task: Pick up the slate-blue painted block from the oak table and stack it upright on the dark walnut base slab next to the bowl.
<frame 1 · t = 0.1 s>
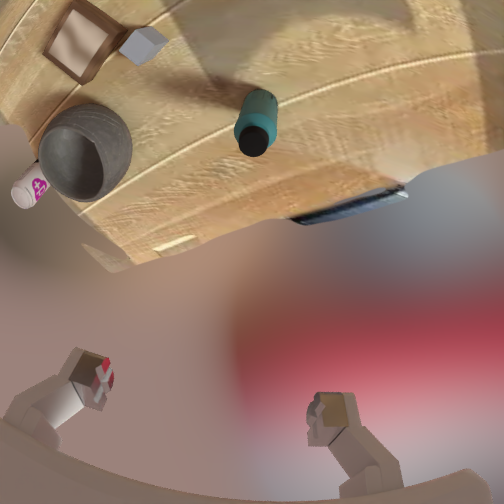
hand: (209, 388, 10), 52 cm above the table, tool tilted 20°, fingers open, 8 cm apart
bowl: (104, 132, 57), on the table
base: (87, 39, 39), on the table
block: (152, 42, 41), on the table
beverage bottle: (261, 101, 50), on the table
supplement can: (52, 163, 63), on the table
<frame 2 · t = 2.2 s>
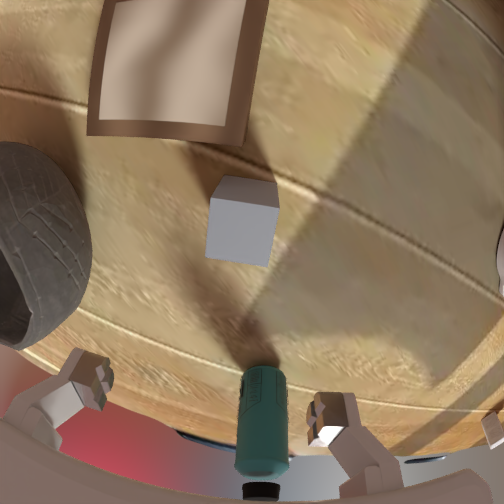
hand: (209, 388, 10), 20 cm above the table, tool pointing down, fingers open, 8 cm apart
bowl: (51, 211, 30), on the table
base: (180, 61, 22), on the table
block: (246, 203, 28), on the table
beverage bottle: (264, 369, 40), on the table
small box: (488, 417, 55), on the table
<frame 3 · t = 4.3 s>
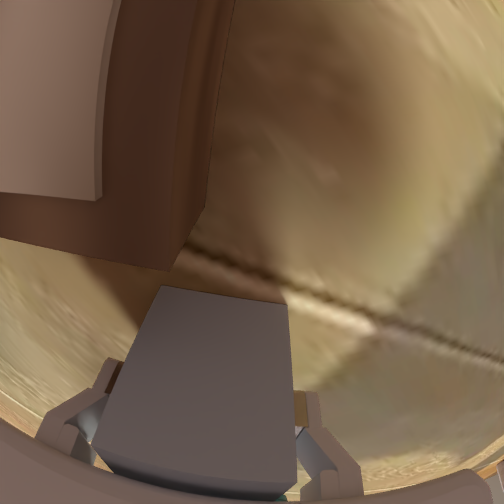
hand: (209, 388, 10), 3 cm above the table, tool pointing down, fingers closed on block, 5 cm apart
base: (52, 19, 6), on the table
block: (218, 339, 12), on the table, touching gripper
small box: (503, 460, 39), on the table
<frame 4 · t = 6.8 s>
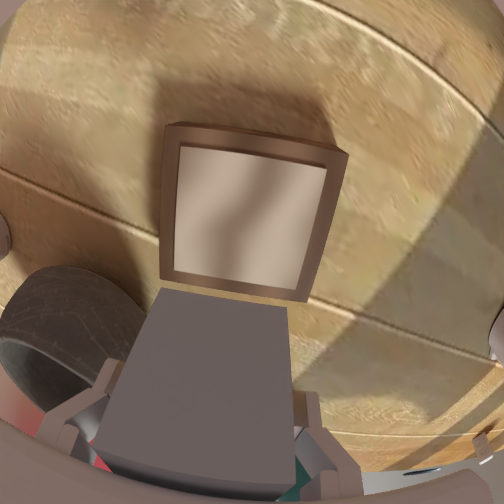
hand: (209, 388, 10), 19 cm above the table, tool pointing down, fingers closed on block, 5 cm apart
bowl: (109, 310, 35), on the table
base: (246, 205, 27), on the table
block: (218, 341, 12), point 17 cm above the table, touching gripper
beverage bottle: (295, 419, 45), on the table
small box: (478, 437, 60), on the table
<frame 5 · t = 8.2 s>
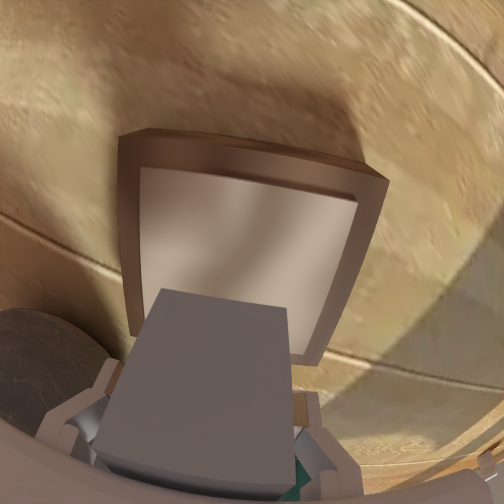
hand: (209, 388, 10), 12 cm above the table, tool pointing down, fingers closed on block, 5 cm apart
bowl: (83, 350, 28), on the table
base: (240, 242, 20), on the table
block: (218, 342, 12), point 9 cm above the table, touching gripper
beverage bottle: (296, 457, 39), on the table
small box: (483, 454, 53), on the table
when the fingers open (8 cm above the table, at t = 9.4 s): block stays where it is, resting on base.
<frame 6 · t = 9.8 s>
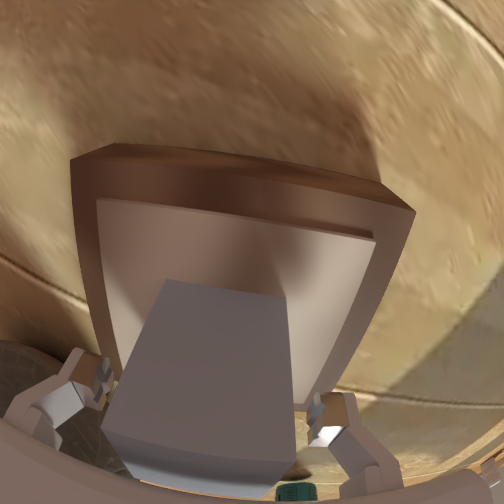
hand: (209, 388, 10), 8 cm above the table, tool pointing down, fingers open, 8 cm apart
bowl: (69, 379, 25), on the table
base: (229, 278, 17), on the table
block: (220, 332, 13), point 4 cm above the table, touching base
beverage bottle: (296, 478, 35), on the table
small box: (486, 461, 50), on the table
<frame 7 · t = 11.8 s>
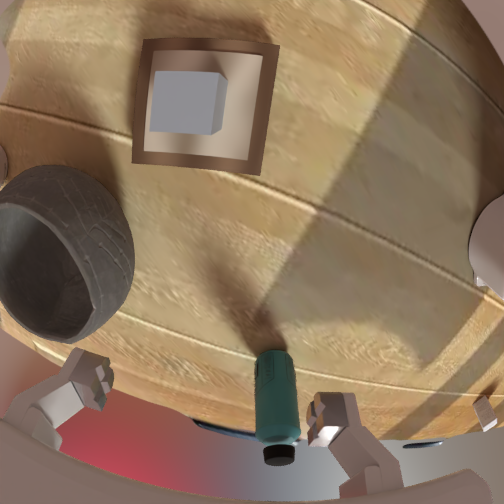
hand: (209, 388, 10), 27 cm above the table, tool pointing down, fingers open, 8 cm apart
bowl: (88, 223, 37), on the table
base: (206, 102, 29), on the table
block: (199, 102, 26), point 4 cm above the table, touching base
beverage bottle: (274, 354, 48), on the table
small box: (479, 402, 63), on the table
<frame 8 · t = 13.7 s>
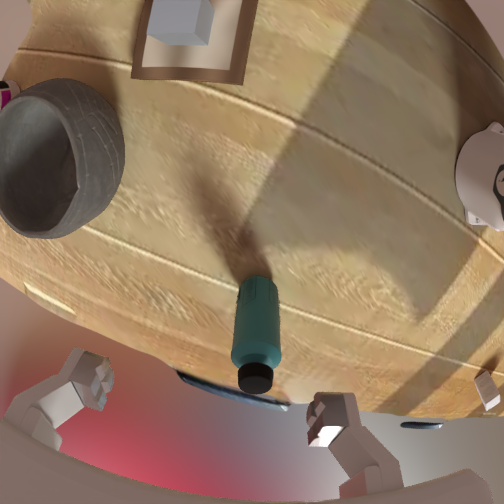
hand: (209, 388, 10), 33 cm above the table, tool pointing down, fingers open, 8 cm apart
bowl: (87, 145, 38), on the table
base: (198, 34, 30), on the table
block: (191, 27, 26), point 4 cm above the table, touching base
beverage bottle: (259, 285, 48), on the table
small box: (481, 378, 63), on the table
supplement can: (10, 100, 33), on the table
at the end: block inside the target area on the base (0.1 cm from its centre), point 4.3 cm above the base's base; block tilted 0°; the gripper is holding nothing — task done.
